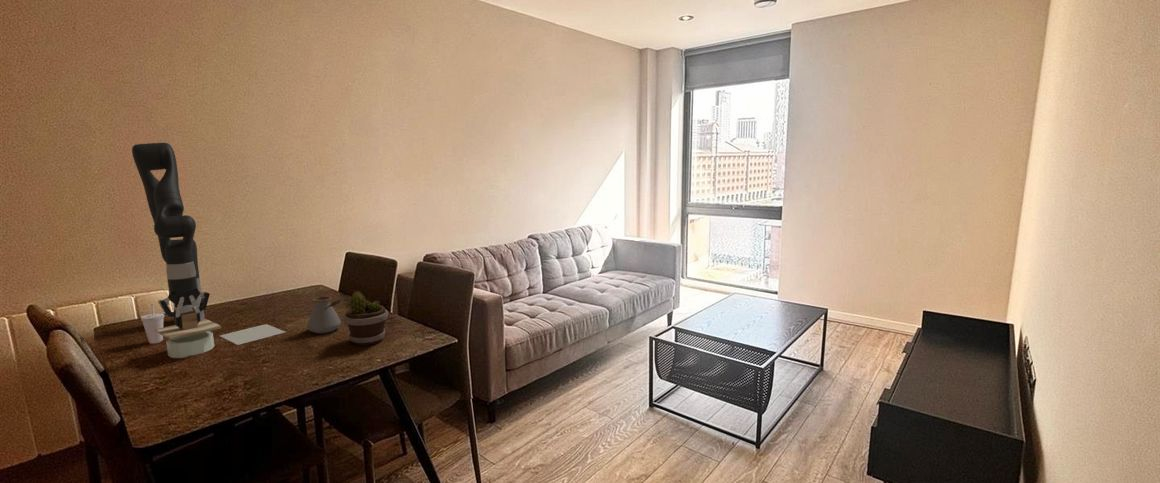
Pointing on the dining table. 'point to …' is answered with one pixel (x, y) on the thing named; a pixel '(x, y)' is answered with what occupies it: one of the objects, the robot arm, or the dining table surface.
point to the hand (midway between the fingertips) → (188, 325)
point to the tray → (252, 334)
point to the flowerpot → (365, 320)
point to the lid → (188, 327)
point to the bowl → (190, 345)
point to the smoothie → (153, 326)
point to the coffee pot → (323, 316)
